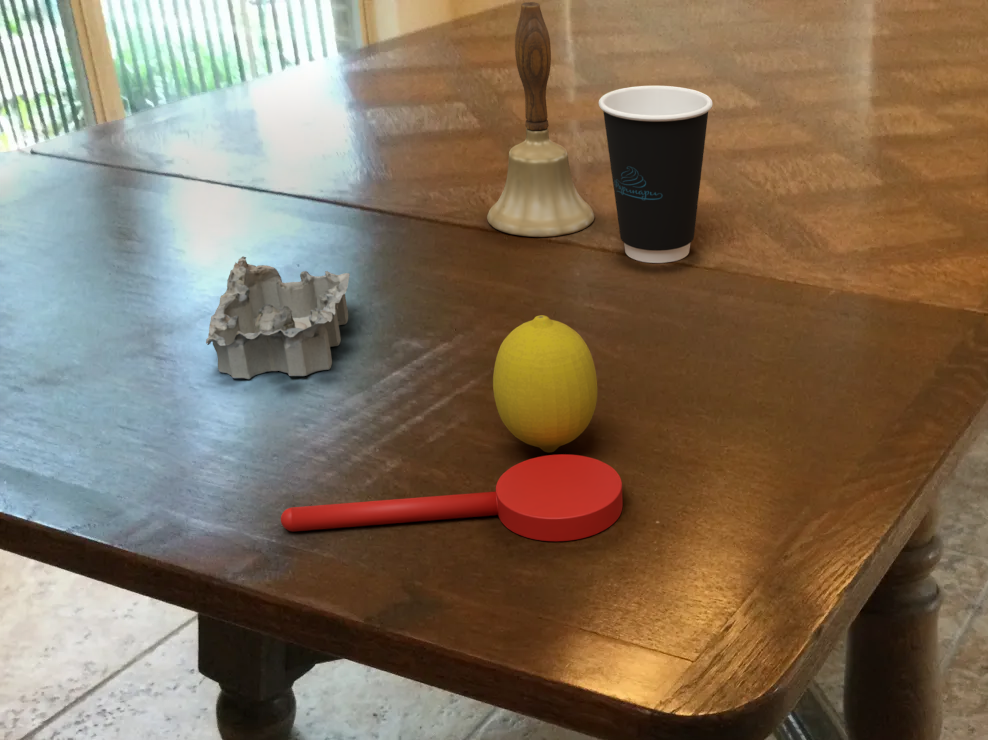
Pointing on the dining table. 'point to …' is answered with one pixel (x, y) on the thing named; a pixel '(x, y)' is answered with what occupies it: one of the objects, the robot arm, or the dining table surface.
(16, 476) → the dining table surface
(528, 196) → the hand bell
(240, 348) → the egg carton
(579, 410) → the lemon
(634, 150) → the dixie cup
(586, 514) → the red lollipop
